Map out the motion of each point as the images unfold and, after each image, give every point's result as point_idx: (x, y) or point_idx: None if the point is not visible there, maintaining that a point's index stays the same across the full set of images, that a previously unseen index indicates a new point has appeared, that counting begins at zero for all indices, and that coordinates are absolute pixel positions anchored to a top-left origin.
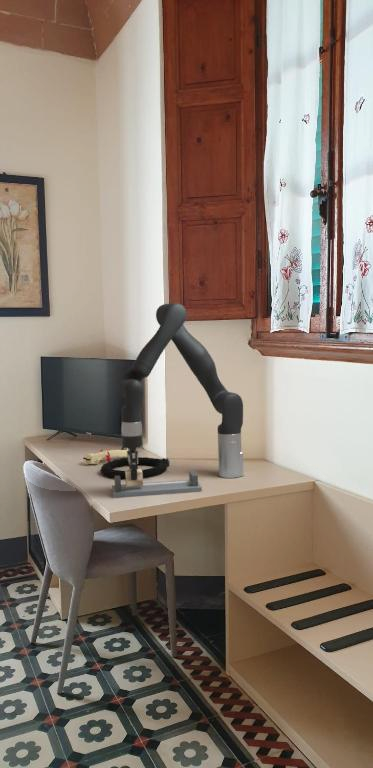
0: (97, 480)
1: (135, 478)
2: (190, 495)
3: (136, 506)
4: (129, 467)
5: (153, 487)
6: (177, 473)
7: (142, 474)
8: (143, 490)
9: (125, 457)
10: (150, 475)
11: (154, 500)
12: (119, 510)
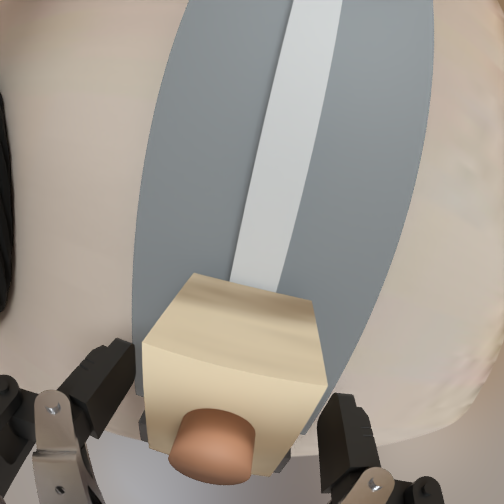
0: (26, 357)
1: (360, 414)
2: (474, 51)
3: (478, 357)
4: (104, 420)
5: (310, 198)
6: (26, 17)
7: (323, 365)
8: (350, 297)
9: None
10: (3, 140)
11: (474, 264)
12: (462, 408)
